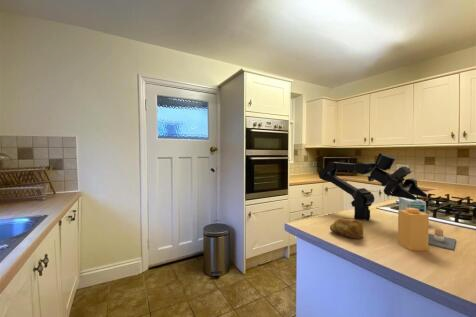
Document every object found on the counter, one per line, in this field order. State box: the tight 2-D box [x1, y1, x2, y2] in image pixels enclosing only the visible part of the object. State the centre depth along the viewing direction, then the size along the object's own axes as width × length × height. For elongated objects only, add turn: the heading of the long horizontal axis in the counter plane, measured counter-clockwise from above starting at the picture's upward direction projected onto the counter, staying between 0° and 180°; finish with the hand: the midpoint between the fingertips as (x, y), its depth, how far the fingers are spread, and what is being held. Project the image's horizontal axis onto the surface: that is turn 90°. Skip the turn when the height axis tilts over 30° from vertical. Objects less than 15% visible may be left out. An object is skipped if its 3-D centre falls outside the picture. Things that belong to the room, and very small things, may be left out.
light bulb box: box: [398, 197, 427, 214], centre depth 105 cm, size 11×7×11 cm, turn 168°
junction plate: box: [428, 227, 457, 251], centre depth 80 cm, size 12×8×5 cm
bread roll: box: [329, 217, 364, 240], centre depth 89 cm, size 13×10×8 cm
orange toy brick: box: [397, 208, 430, 251], centre depth 77 cm, size 6×6×14 cm
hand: (421, 197), depth 87 cm, fingers open, 9 cm apart
